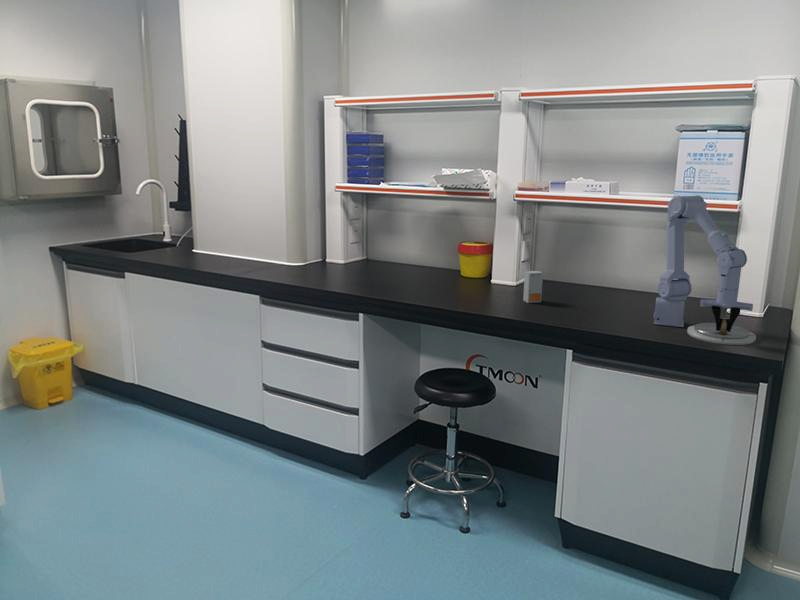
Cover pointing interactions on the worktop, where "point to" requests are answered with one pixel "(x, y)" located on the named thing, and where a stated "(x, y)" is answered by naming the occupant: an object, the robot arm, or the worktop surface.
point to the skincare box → (533, 286)
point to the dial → (721, 330)
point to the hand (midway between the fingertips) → (723, 330)
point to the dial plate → (741, 341)
